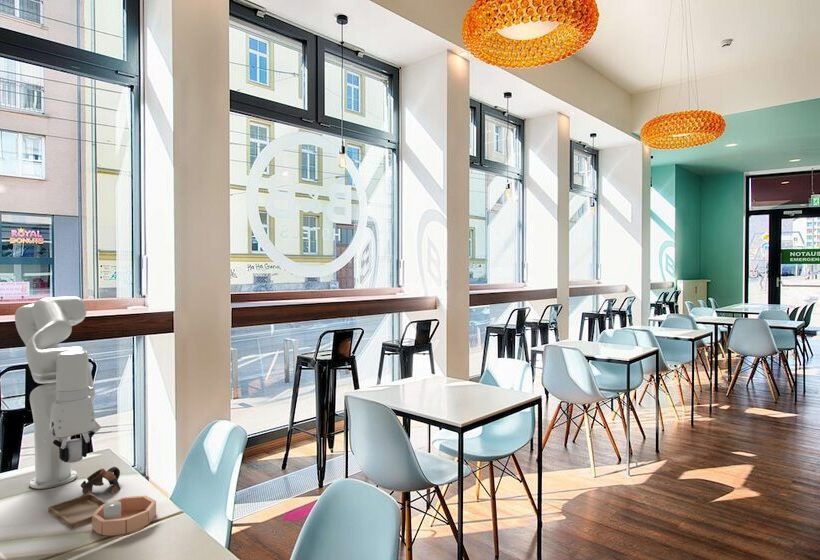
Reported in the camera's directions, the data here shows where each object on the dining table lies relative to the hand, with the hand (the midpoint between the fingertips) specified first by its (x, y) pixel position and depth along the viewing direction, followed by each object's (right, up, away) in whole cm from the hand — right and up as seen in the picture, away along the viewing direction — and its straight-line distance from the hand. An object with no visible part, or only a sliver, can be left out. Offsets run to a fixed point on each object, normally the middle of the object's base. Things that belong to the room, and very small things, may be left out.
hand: (74, 457), depth 144 cm
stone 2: (+17, -14, -10) cm, 25 cm away
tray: (+4, -15, -2) cm, 16 cm away
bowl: (+19, -15, -8) cm, 25 cm away
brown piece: (+2, -15, +12) cm, 19 cm away
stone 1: (0, -1, 0) cm, 1 cm away
